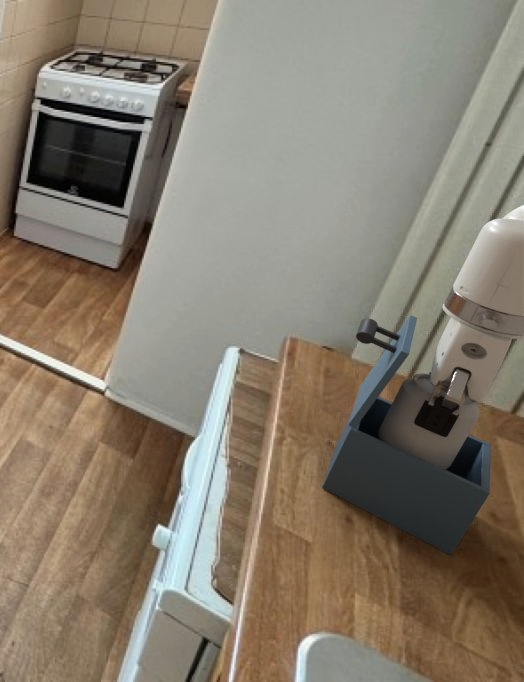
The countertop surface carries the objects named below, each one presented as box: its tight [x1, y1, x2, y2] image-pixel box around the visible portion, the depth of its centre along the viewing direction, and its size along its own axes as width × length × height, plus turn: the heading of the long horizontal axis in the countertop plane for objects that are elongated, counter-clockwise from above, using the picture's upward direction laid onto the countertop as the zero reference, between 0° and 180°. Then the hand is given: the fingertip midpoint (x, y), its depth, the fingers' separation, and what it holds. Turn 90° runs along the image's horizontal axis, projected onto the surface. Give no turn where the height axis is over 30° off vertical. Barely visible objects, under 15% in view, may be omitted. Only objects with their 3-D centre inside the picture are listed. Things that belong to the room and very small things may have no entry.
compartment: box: [321, 395, 492, 556], centre depth 88 cm, size 14×12×12 cm
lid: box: [348, 314, 418, 428], centre depth 88 cm, size 14×12×5 cm
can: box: [378, 372, 481, 469], centre depth 85 cm, size 8×8×12 cm
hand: (432, 414), depth 84 cm, fingers closed on can, 7 cm apart
